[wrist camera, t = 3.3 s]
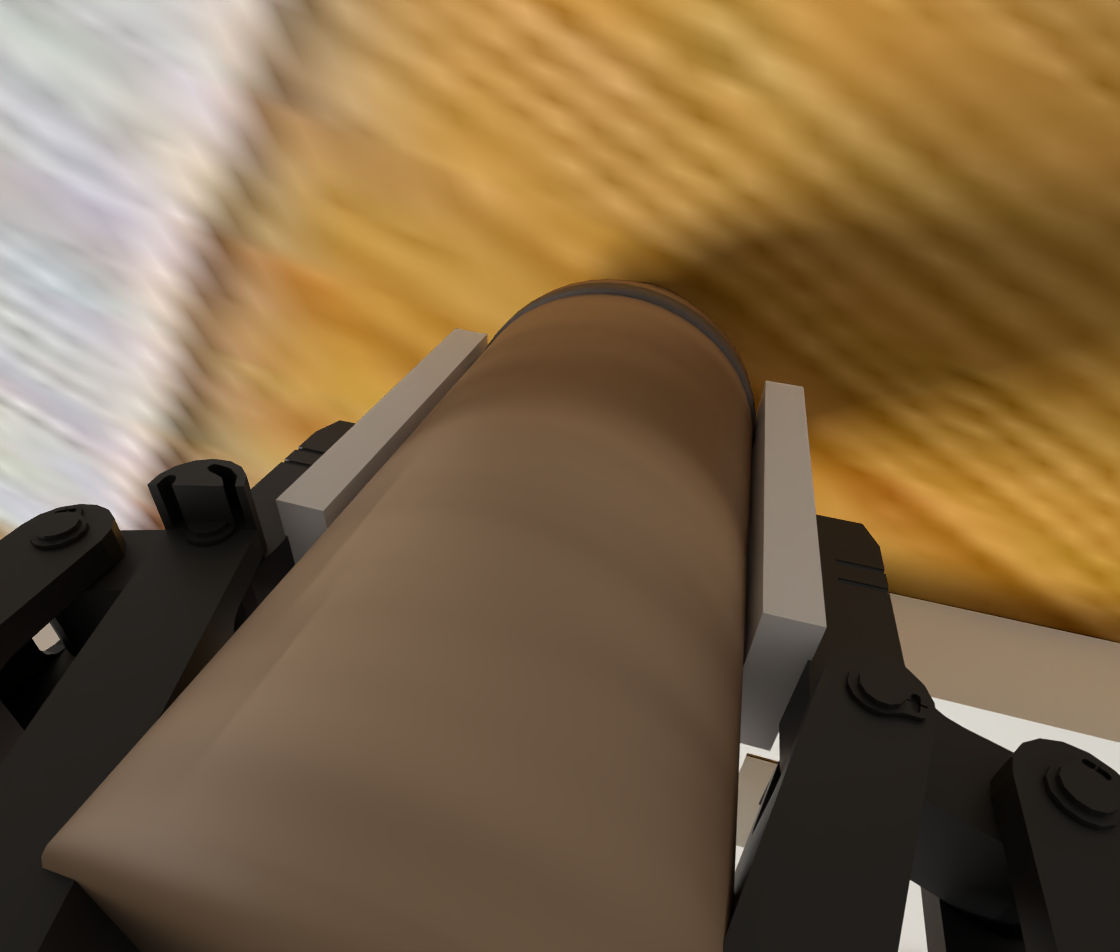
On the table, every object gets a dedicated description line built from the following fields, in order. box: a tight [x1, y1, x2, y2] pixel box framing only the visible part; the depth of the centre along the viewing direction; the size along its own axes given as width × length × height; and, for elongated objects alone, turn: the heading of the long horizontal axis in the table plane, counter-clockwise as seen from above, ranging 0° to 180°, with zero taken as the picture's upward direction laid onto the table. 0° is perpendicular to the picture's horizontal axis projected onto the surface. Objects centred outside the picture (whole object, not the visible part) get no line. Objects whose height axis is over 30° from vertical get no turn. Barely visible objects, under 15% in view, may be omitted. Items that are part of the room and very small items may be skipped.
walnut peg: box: [41, 279, 756, 952], centre depth 11 cm, size 6×6×14 cm
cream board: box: [735, 593, 1120, 952], centre depth 21 cm, size 14×18×4 cm
